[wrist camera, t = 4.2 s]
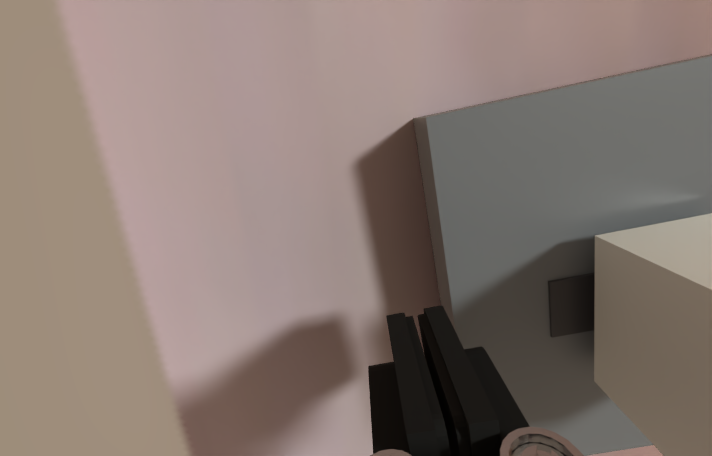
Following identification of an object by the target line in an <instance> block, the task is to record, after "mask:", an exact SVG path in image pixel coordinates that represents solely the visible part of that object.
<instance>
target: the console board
mask: <svg viewBox="0 0 712 456" xmlns="http://www.w3.org/2000/svg"><path fill="white" fill-rule="evenodd" d="M413 120H414V127H415V134H416V140H417V147H418V154H419V161H420V167H421V174H422V181H423V188H424V194H425V201H426V208H427V214H428V221H429V228H430V235H431V241H432V248H433V255H434V261H435V268H436V275H437V282H438V288H439V295H440V302H441V306H443V307H444V309H445V311H446V313H447V315H448V317H449V319H450V321H451V323H452V325H453V327H454V329H455V331H456V334H457V336H458V338H459V340H460V342H461V344H462V346H463V348H464V349H470V348H475V347H481V346H482V347H483V348H484V349H485V350H486V352H487V354H488V355H489V357H490V359H491V360H492V362H493V364H494V366H495V367H496V369H497V371H498V373H499V374H500V376H501V378H502V379H503V381H504V383H505V385H506V386H507V388H508V390H509V391H510V393H511V395H512V397H513V398H514V400H515V402H516V403H517V405H518V407H519V409H520V410H521V412H522V414H523V416H524V417H525V419H526V421H527V422H528V424H529V426H530V427H538V428H544V429H547V430H550V431H553V432H555V433H557V434H559V435H560V436H562V437H564V438H566V439H567V440H569V441H570V442H571V443H572V444H573V445H574V446H575V447H576V448H577V449H578V450H579V451H580V452H581V453H582V454H583V455H584V456H586V455H592V454H599V453H605V452H612V451H618V450H624V449H631V448H637V447H644V446H650V445H653V444H652V443H651V441H650V440H649V439H648V438H647V437H646V436H645V435H644V434H643V433H642V432H641V431H640V430H639V429H638V428H637V427H636V425H635V424H634V423H633V422H632V421H631V420H630V419H629V418H628V417H627V416H626V415H625V414H624V413H623V412H622V410H621V409H620V408H619V407H618V406H617V405H616V404H615V403H614V402H613V401H612V400H611V399H610V398H609V397H608V395H607V394H606V393H605V392H604V391H603V390H602V389H601V388H600V387H599V386H598V385H597V384H596V383H595V382H594V290H595V235H600V234H606V233H611V232H616V231H621V230H627V229H632V228H637V227H642V226H648V225H653V224H658V223H663V222H669V221H674V220H679V219H684V218H690V217H695V216H700V215H705V214H711V213H712V54H711V55H706V56H701V57H697V58H692V59H687V60H683V61H678V62H673V63H669V64H664V65H659V66H655V67H650V68H646V69H641V70H636V71H632V72H627V73H622V74H618V75H613V76H608V77H604V78H599V79H595V80H590V81H585V82H581V83H576V84H571V85H567V86H562V87H557V88H553V89H548V90H543V91H539V92H534V93H530V94H525V95H520V96H516V97H511V98H506V99H502V100H497V101H492V102H488V103H483V104H478V105H474V106H469V107H465V108H460V109H455V110H451V111H446V112H441V113H437V114H432V115H427V116H423V117H418V118H413Z"/></svg>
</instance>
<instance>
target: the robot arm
mask: <svg viewBox="0 0 712 456" xmlns="http://www.w3.org/2000/svg"><path fill="white" fill-rule="evenodd" d="M386 317H387V323H388V329H389V335H390V341H391V346H392V352H393V358H394V362H390V363H384V364H378V365H373V366H369V388H370V405H371V422H372V439H373V454H372V455H370V456H584V455H583V454H582V453H581V452H580V451H579V450H578V449H577V448H576V447H575V446H574V445H573V444H572V443H571V442H570V441H569V440H567V439H566V438H564V437H562V436H560V435H559V434H557V433H555V432H553V431H550V430H547V429H544V428H538V427H530V426H529V424H528V422H527V421H526V419H525V417H524V416H523V414H522V412H521V410H520V409H519V407H518V405H517V403H516V402H515V400H514V398H513V397H512V395H511V393H510V391H509V390H508V388H507V386H506V385H505V383H504V381H503V379H502V378H501V376H500V374H499V373H498V371H497V369H496V367H495V366H494V364H493V362H492V360H491V359H490V357H489V355H488V354H487V352H486V350H485V349H484V348H483V347H482V346H481V347H475V348H470V349H464V348H463V346H462V344H461V342H460V340H459V338H458V336H457V334H456V331H455V329H454V327H453V325H452V323H451V321H450V319H449V317H448V315H447V313H446V311H445V309H444V307H443V306H437V307H431V308H426V309H424V314H421V315H418V320H419V326H420V331H421V337H422V343H423V349H424V352H423V349H422V346H421V343H420V339H419V336H418V333H417V329H416V326H415V323H414V320H413V316H410V317H405V314H404V313H398V314H393V315H387V316H386ZM424 355H425V356H424Z"/></svg>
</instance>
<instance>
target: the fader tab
mask: <svg viewBox="0 0 712 456" xmlns="http://www.w3.org/2000/svg"><path fill="white" fill-rule="evenodd" d="M594 382H595V383H596V384H597V385H598V386H599V387H600V388H601V389H602V390H603V391H604V392H605V393H606V394H607V395H608V397H609V398H610V399H611V400H612V401H613V402H614V403H615V404H616V405H617V406H618V407H619V408H620V409H621V410H622V412H623V413H624V414H625V415H626V416H627V417H628V418H629V419H630V420H631V421H632V422H633V423H634V424H635V425H636V427H637V428H638V429H639V430H640V431H641V432H642V433H643V434H644V435H645V436H646V437H647V438H648V439H649V440H650V441H651V443H652V444H653V445H654V446H655V447H656V448H657V449H658V450H659V451H660V452H661V453H662V454H663V455H664V456H712V213H711V214H705V215H700V216H695V217H690V218H684V219H679V220H674V221H669V222H663V223H658V224H653V225H648V226H642V227H637V228H632V229H627V230H621V231H616V232H611V233H606V234H600V235H595V290H594Z"/></svg>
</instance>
